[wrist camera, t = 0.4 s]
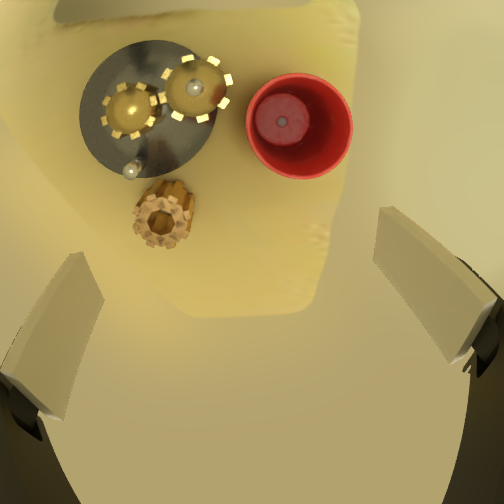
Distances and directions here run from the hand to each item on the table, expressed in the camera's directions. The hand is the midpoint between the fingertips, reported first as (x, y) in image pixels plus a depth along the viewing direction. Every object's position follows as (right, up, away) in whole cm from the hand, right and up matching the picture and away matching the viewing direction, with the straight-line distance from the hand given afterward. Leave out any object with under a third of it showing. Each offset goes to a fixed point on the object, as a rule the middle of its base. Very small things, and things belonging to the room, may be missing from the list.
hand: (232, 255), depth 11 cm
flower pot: (+4, +17, +21) cm, 27 cm away
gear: (-11, +7, +24) cm, 27 cm away
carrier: (-12, +18, +17) cm, 28 cm away
